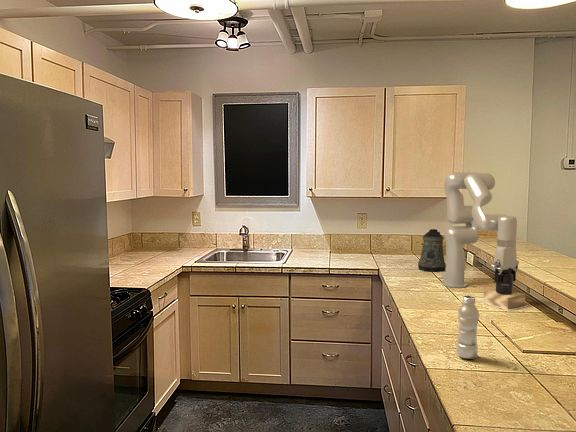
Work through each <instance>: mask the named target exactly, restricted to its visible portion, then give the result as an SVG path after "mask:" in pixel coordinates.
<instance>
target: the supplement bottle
mask: <svg viewBox="0 0 576 432" xmlns="http://www.w3.org/2000/svg"><path fill="white" fill-rule="evenodd" d="M499 268H500V267H499ZM498 271H500V270H498ZM501 275H502V283H501V284H499V283H495V290H496V292H497V293H499V294H504V295H510V294H512V291H513V290H514V289H513V287H514V281H513V274H512V273H511V268H508V269H507V270H503V271H502V273H501Z"/></svg>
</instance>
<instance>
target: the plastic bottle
mask: <svg viewBox="0 0 576 432" xmlns="http://www.w3.org/2000/svg"><path fill="white" fill-rule="evenodd" d="M457 317H458V328H459V329H458V331H459V333H458V338H457V339H458V341H457V344H456V353H457V355H458V356H459V357H460V358H462V359H465V360H474V359H476V358H477V357H478V351H479V348H478V341H477V340H478V338H477V333H478V332H477V331H478V324H479V319H480V312H479V310H478V308H477V306H476V297H475V296H471V295H463V296H462V305H461V306H460V307H459V309H458V312H457Z"/></svg>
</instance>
